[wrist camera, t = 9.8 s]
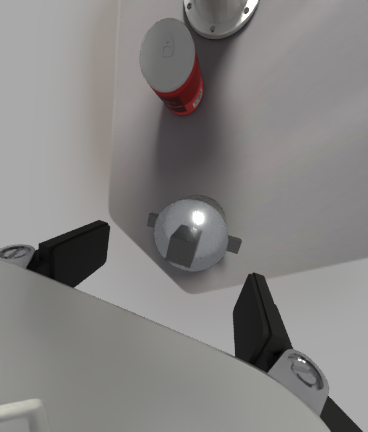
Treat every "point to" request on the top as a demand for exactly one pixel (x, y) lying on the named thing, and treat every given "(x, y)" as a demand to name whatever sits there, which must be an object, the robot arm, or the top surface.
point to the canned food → (172, 65)
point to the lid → (191, 235)
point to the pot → (232, 241)
